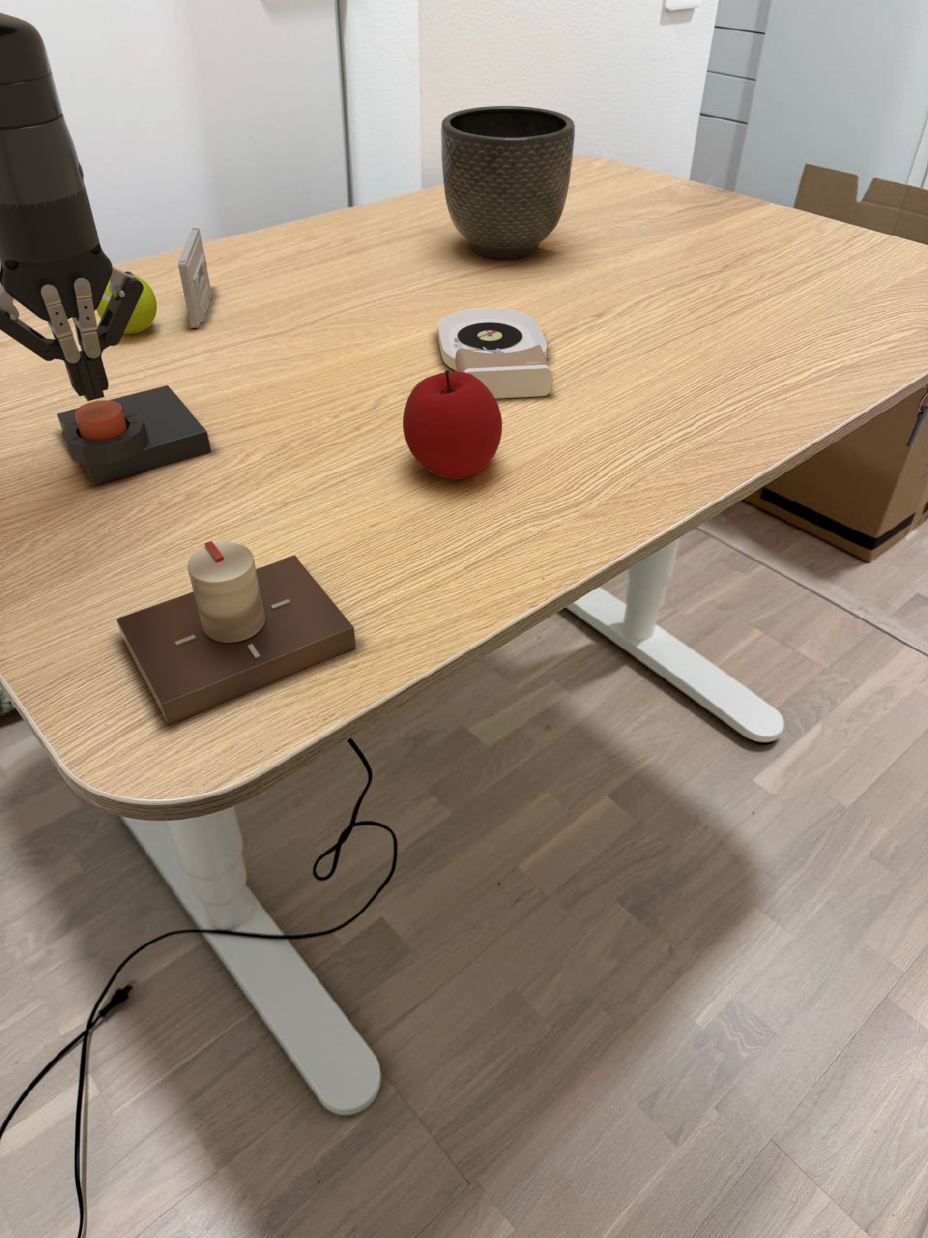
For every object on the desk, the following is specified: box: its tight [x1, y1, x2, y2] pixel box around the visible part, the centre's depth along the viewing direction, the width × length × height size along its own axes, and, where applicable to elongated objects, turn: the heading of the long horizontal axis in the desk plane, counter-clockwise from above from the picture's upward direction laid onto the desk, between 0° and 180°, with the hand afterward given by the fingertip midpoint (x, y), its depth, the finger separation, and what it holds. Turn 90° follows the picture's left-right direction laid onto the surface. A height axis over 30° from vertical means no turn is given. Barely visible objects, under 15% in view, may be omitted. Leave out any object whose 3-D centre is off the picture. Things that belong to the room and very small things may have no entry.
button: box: [75, 399, 127, 441], centre depth 81 cm, size 4×4×2 cm
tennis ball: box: [95, 274, 158, 335], centre depth 104 cm, size 7×7×7 cm
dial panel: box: [115, 554, 357, 726], centre depth 65 cm, size 14×10×2 cm
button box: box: [56, 384, 212, 486], centre depth 85 cm, size 12×12×4 cm
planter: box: [440, 105, 576, 261], centre depth 121 cm, size 17×17×16 cm
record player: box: [437, 306, 554, 400], centre depth 100 cm, size 12×3×20 cm
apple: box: [402, 369, 503, 480], centre depth 81 cm, size 9×9×10 cm
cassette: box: [177, 227, 213, 329], centre depth 108 cm, size 12×2×8 cm, turn 5°
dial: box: [186, 540, 265, 643], centre depth 63 cm, size 4×4×6 cm
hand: (93, 395), depth 79 cm, fingers closed
